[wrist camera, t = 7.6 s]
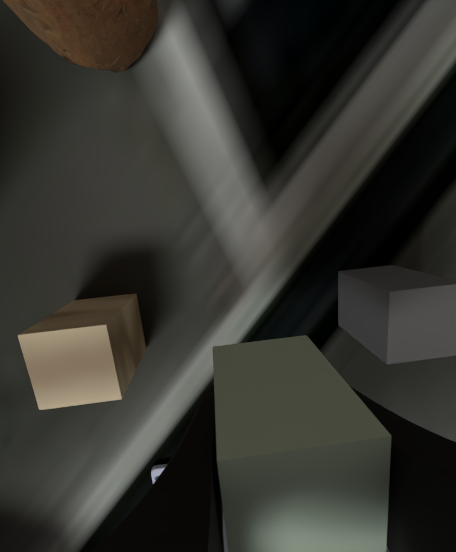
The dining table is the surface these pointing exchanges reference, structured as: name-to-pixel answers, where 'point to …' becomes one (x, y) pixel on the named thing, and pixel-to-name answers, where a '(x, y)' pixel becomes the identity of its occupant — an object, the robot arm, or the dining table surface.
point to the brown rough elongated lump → (91, 29)
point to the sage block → (297, 452)
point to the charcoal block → (398, 312)
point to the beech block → (84, 351)
